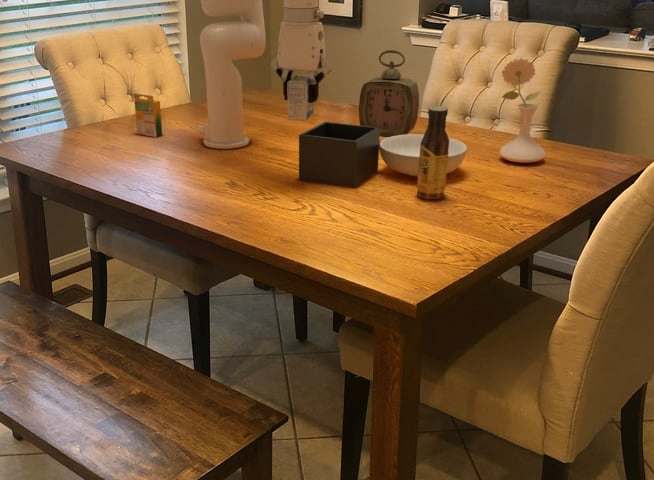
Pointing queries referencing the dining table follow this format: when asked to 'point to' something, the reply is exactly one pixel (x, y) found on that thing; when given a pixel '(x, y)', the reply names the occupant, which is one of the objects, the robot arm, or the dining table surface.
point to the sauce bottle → (433, 156)
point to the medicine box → (299, 98)
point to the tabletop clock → (389, 101)
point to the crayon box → (148, 116)
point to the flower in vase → (523, 144)
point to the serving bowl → (415, 153)
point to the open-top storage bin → (339, 154)
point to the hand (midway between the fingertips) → (300, 99)
